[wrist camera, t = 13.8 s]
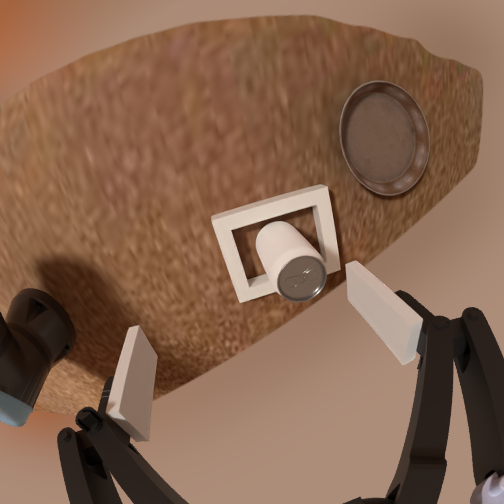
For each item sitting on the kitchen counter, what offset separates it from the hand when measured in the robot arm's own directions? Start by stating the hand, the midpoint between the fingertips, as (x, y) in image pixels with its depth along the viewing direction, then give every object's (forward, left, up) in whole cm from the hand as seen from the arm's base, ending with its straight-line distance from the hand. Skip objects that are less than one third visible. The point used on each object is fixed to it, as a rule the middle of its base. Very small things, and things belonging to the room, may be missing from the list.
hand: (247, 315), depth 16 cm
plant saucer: (+26, +6, -24) cm, 36 cm away
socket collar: (+6, -6, -23) cm, 25 cm away
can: (+6, -6, -23) cm, 25 cm away
